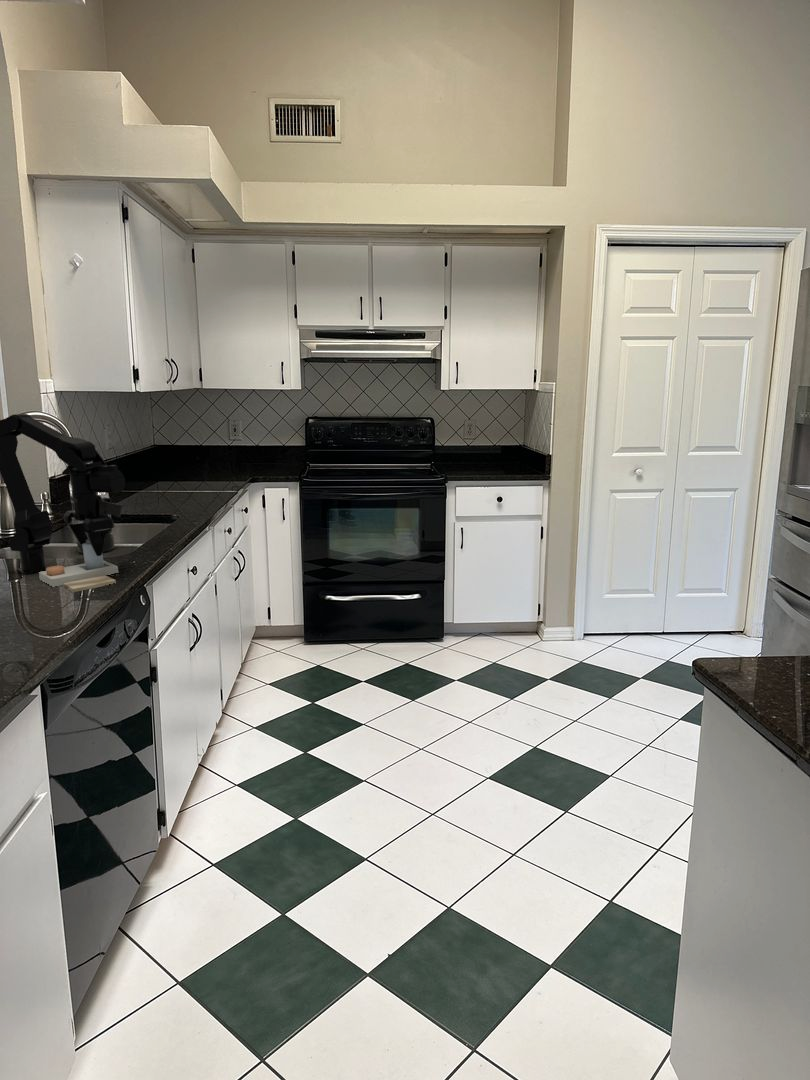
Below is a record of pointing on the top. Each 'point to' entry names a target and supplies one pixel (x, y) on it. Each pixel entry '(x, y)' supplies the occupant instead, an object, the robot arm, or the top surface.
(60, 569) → the plunger
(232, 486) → the top surface
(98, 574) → the white tray
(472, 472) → the top surface
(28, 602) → the top surface
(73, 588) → the pad
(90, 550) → the cylinder
